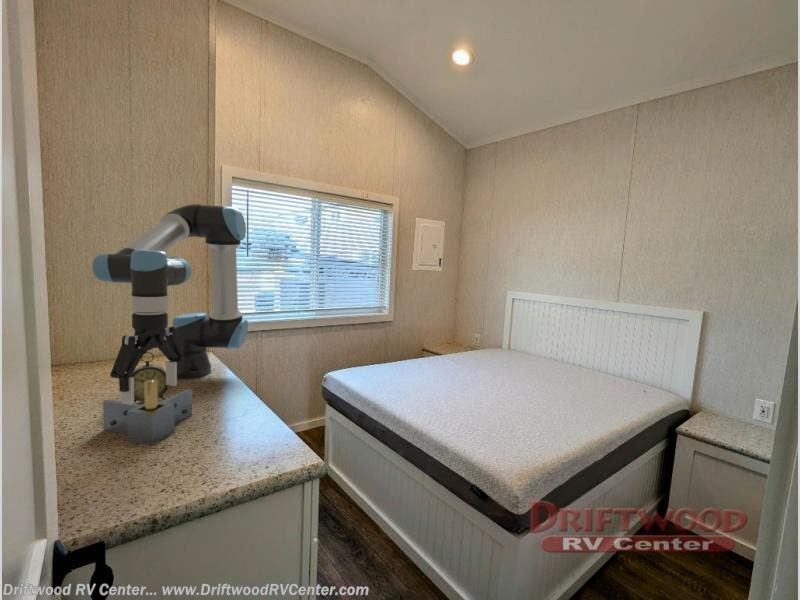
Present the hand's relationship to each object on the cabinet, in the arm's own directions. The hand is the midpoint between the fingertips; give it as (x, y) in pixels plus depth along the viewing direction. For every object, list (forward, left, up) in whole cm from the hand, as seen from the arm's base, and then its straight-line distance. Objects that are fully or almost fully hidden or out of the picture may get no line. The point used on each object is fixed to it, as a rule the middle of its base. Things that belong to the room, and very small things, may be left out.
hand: (151, 393), depth 97 cm
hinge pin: (0, 0, -12) cm, 12 cm away
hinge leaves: (-5, -5, -12) cm, 14 cm away
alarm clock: (-18, -18, -12) cm, 28 cm away
